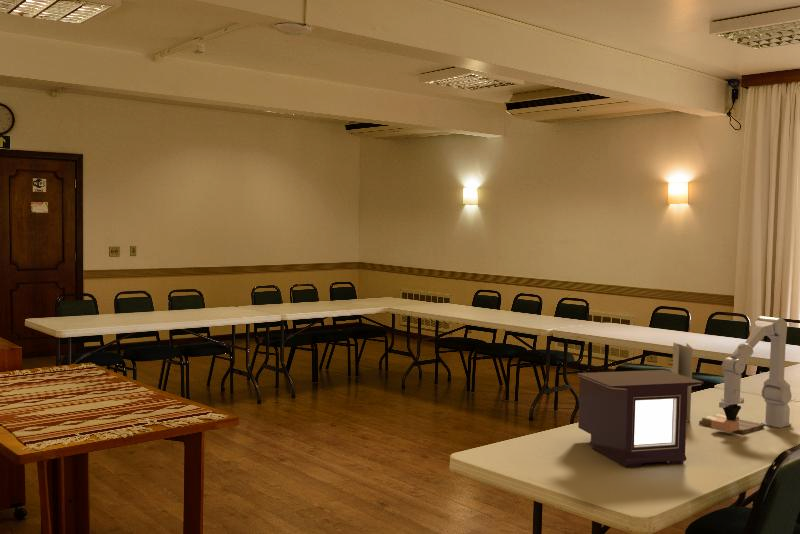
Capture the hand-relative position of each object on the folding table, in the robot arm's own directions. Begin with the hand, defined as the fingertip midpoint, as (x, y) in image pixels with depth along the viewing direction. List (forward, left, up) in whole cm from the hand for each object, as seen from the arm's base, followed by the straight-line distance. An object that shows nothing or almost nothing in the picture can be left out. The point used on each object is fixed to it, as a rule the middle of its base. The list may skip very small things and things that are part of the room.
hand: (730, 423), depth 302 cm
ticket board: (-8, -4, -3) cm, 10 cm away
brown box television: (+56, -6, -3) cm, 56 cm away
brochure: (-4, -24, -3) cm, 25 cm away
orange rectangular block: (+4, 0, -1) cm, 4 cm away
